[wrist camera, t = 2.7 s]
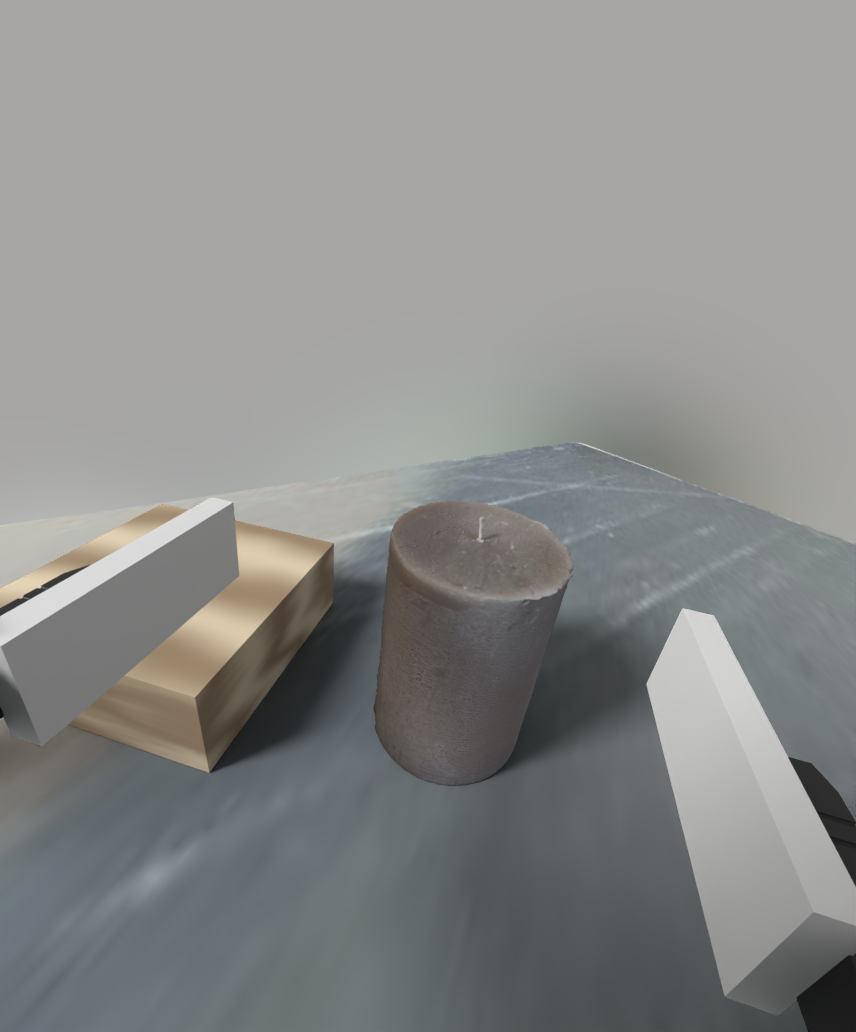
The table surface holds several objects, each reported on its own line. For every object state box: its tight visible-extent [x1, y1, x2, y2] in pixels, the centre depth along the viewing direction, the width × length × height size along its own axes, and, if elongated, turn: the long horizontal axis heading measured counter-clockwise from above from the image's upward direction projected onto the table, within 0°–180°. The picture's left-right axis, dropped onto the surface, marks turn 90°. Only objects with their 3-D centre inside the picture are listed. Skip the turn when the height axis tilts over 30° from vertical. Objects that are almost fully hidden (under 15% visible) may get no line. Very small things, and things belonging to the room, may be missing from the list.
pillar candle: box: [374, 501, 574, 786], centre depth 26 cm, size 10×10×15 cm
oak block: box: [0, 504, 334, 773], centre depth 32 cm, size 16×16×6 cm
